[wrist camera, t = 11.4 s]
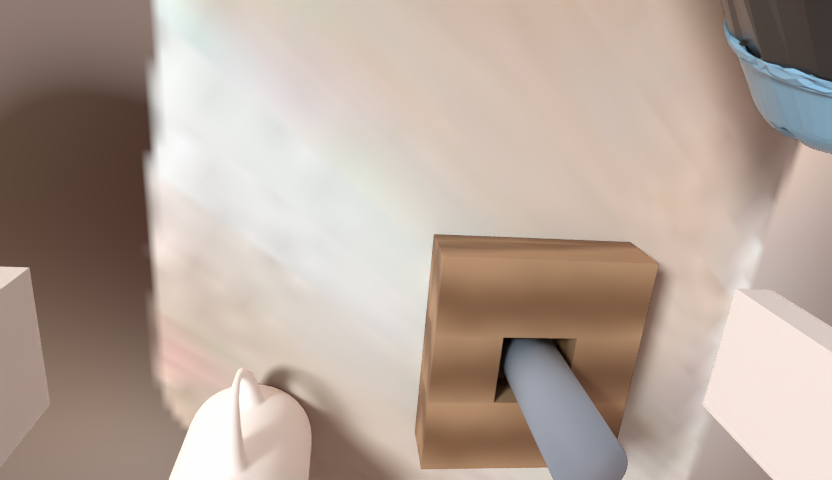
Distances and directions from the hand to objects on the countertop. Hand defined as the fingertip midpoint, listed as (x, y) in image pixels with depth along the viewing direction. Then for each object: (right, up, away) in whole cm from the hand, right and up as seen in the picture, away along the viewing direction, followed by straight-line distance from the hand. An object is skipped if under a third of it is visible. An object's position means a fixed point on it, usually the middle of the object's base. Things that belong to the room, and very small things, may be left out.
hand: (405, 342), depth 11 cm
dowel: (+8, -6, +30) cm, 32 cm away
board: (+8, -5, +32) cm, 33 cm away
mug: (-12, -10, +31) cm, 35 cm away
